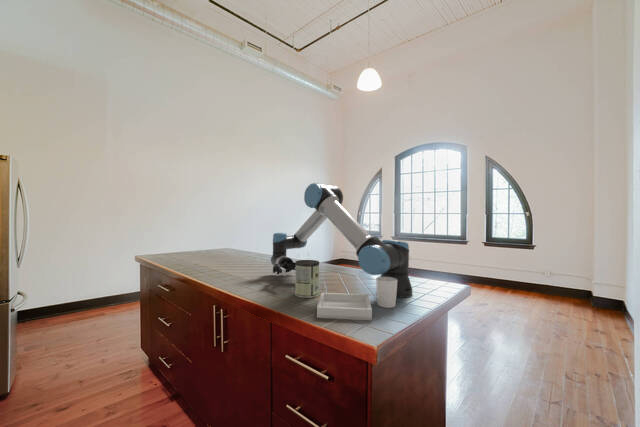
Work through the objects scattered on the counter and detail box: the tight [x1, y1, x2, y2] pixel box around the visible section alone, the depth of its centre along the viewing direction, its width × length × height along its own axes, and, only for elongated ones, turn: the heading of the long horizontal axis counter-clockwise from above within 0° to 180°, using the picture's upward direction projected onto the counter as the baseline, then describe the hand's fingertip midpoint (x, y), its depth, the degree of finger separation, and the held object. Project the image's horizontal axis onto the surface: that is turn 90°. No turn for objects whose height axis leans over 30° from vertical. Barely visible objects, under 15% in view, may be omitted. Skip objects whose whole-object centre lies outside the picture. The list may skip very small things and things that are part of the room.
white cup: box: [375, 276, 397, 309], centre depth 110 cm, size 8×8×10 cm
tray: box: [316, 292, 373, 321], centre depth 104 cm, size 18×18×4 cm
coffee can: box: [294, 259, 320, 299], centre depth 123 cm, size 10×10×14 cm
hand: (299, 271), depth 132 cm, fingers open, 13 cm apart
